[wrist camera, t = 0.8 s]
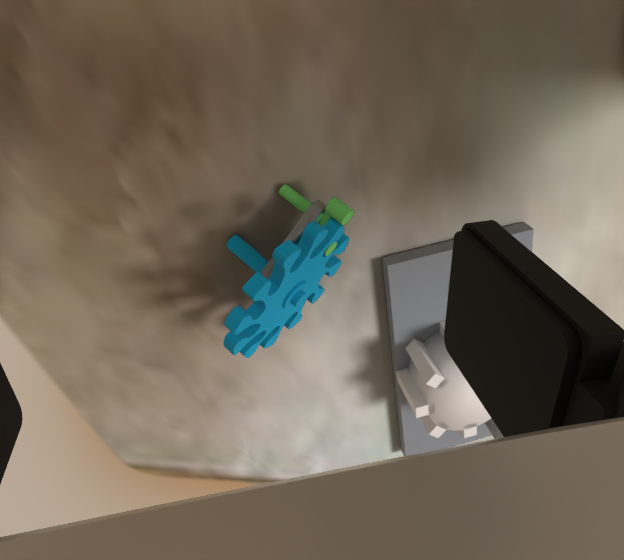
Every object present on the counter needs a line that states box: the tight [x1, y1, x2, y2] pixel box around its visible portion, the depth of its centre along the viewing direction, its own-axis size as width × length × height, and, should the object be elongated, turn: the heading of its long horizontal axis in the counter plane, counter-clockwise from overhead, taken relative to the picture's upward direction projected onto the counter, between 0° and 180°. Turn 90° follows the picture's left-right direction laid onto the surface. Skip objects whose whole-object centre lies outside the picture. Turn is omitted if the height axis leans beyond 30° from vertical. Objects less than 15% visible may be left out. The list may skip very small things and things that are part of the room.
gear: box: [224, 184, 354, 358], centre depth 32 cm, size 11×6×10 cm
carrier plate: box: [382, 222, 533, 456], centre depth 40 cm, size 11×20×5 cm, turn 9°
